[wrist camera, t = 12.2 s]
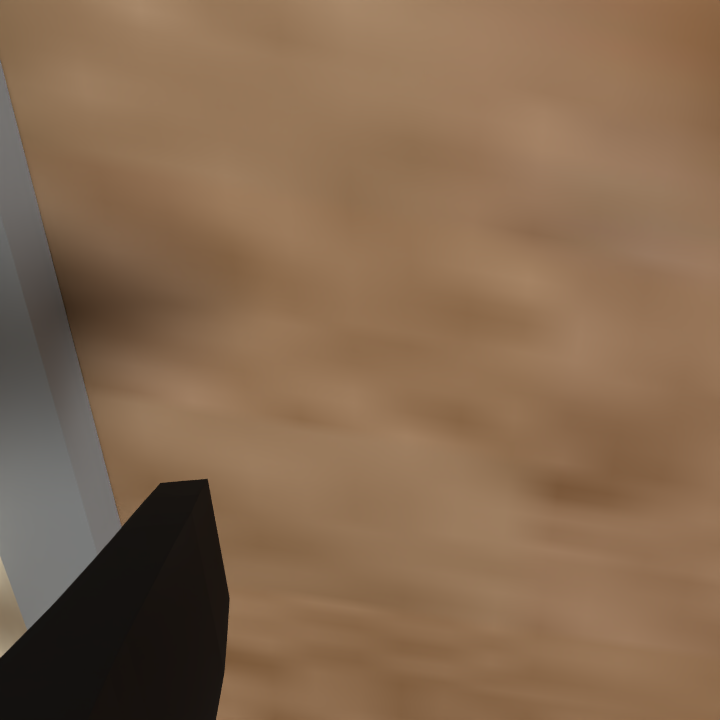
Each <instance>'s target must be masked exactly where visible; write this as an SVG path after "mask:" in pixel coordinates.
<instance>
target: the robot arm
mask: <svg viewBox="0 0 720 720" xmlns="http://www.w3.org/2000/svg"><path fill="white" fill-rule="evenodd" d="M229 599H230V598H229V592H228V587H227V582H226V576H225V571H224V565H223V560H222V554H221V549H220V544H219V538H218V533H217V527H216V522H215V516H214V511H213V506H212V500H211V495H210V489H209V484H208V479H201V480H190V481H178V482H167V483H160V484H159V485H158V486H157V488H156V489H155V490H154V491H153V492H152V493H151V494H150V495H149V496H148V498H147V499H146V500H145V501H144V502H143V503H142V504H141V505H140V507H139V508H138V509H137V510H136V511H135V512H134V513H133V515H132V516H131V517H130V518H129V519H128V520H127V522H126V523H125V524H124V525H123V526H122V527H121V529H120V530H119V531H118V532H117V533H116V534H115V536H114V537H113V538H112V539H111V540H110V541H109V542H108V544H107V545H106V546H105V547H104V548H103V549H102V551H101V552H100V553H99V554H98V555H97V556H96V557H95V559H94V560H93V561H92V562H91V563H90V564H89V565H88V566H87V567H86V568H85V570H84V571H83V572H82V573H81V574H80V575H79V576H78V577H77V578H76V580H75V581H74V582H73V583H72V584H71V585H70V586H69V587H68V588H67V589H66V591H65V592H64V593H63V594H62V595H61V596H60V597H59V598H58V599H57V600H56V602H55V603H54V604H53V605H52V606H51V607H50V608H49V609H48V610H47V611H46V612H45V613H44V614H43V615H42V616H41V617H40V618H39V619H38V620H37V621H36V622H35V623H34V624H33V625H32V626H31V627H30V628H29V629H28V630H27V631H26V632H25V633H24V634H23V635H22V636H21V637H20V638H19V639H18V640H17V641H16V642H15V643H14V644H13V645H12V646H11V647H10V649H9V650H8V651H7V652H6V653H5V654H4V655H3V656H2V657H1V658H0V720H216V716H217V710H218V705H219V699H220V694H221V688H222V683H223V677H224V670H225V657H226V644H227V630H228V614H229Z"/></svg>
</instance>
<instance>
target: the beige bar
mask: <svg viewBox="0 0 720 720" xmlns="http://www.w3.org/2000/svg"><path fill="white" fill-rule="evenodd" d="M26 631H27V628H26V626H25V623H24V620H23V617H22V615H21V612H20V609H19V606H18V604H17V601H16V598H15V595H14V593H13V590H12V587H11V584H10V582H9V579H8V576H7V573H6V571H5V568H4V565H3V562H2V560H1V557H0V658H1V657H2V656H3V655H4V654H5V653H6V652H7V651H8V650H9V649H10V647H11V646H12V645H13V644H14V643H15V642H16V641H17V640H18V639H19V638H20V637H21V636H22V635H23V634H24V633H25V632H26Z"/></svg>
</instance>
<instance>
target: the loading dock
mask: <svg viewBox="0 0 720 720" xmlns="http://www.w3.org/2000/svg"><path fill="white" fill-rule="evenodd" d="M120 529H121V523H120V520H119V516H118V512H117V508H116V504H115V500H114V496H113V493H112V489H111V485H110V481H109V477H108V473H107V469H106V466H105V462H104V458H103V454H102V450H101V446H100V443H99V439H98V435H97V431H96V427H95V423H94V419H93V416H92V412H91V408H90V404H89V400H88V396H87V392H86V389H85V385H84V381H83V377H82V373H81V369H80V366H79V362H78V358H77V354H76V350H75V346H74V342H73V339H72V335H71V331H70V327H69V323H68V319H67V315H66V312H65V308H64V304H63V300H62V296H61V292H60V288H59V285H58V281H57V277H56V273H55V269H54V265H53V262H52V258H51V254H50V250H49V246H48V242H47V238H46V235H45V231H44V227H43V223H42V219H41V215H40V211H39V208H38V204H37V200H36V196H35V192H34V188H33V185H32V181H31V177H30V173H29V169H28V165H27V161H26V158H25V154H24V150H23V146H22V142H21V138H20V134H19V131H18V127H17V123H16V119H15V115H14V111H13V108H12V104H11V100H10V96H9V92H8V88H7V84H6V81H5V77H4V73H3V69H2V65H1V61H0V557H1V560H2V562H3V565H4V568H5V571H6V573H7V576H8V579H9V582H10V584H11V587H12V590H13V593H14V595H15V598H16V601H17V604H18V606H19V609H20V612H21V615H22V617H23V620H24V623H25V626H26V628H27V630H28V629H29V628H30V627H31V626H32V625H33V624H34V623H35V622H36V621H37V620H38V619H39V618H40V617H41V616H42V615H43V614H44V613H45V612H46V611H47V610H48V609H49V608H50V607H51V606H52V605H53V604H54V603H55V602H56V600H57V599H58V598H59V597H60V596H61V595H62V594H63V593H64V592H65V591H66V589H67V588H68V587H69V586H70V585H71V584H72V583H73V582H74V581H75V580H76V578H77V577H78V576H79V575H80V574H81V573H82V572H83V571H84V570H85V568H86V567H87V566H88V565H89V564H90V563H91V562H92V561H93V560H94V559H95V557H96V556H97V555H98V554H99V553H100V552H101V551H102V549H103V548H104V547H105V546H106V545H107V544H108V542H109V541H110V540H111V539H112V538H113V537H114V536H115V534H116V533H117V532H118V531H119V530H120Z"/></svg>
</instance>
